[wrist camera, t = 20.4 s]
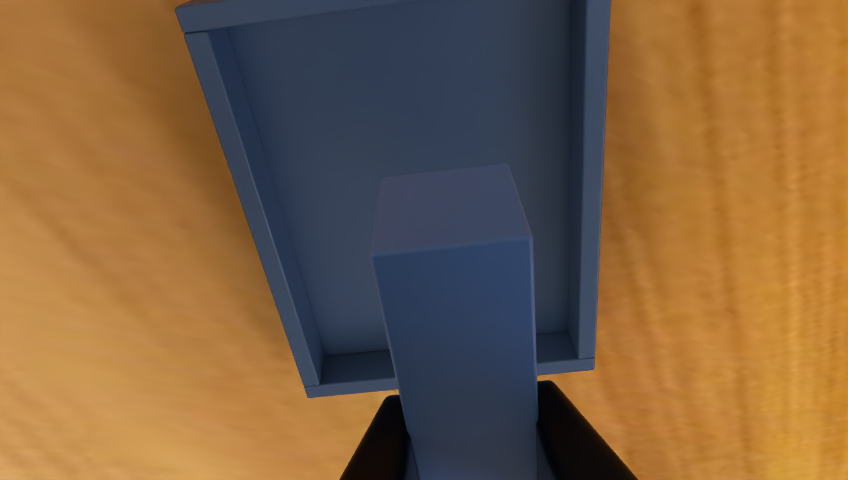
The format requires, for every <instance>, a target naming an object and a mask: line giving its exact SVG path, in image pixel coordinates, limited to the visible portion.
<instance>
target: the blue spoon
mask: <svg viewBox="0 0 848 480" xmlns="http://www.w3.org/2000/svg"><path fill="white" fill-rule="evenodd" d="M370 261H371V265H372V270H373V275H374V279H375V284H376V288H377V293H378V298H379V302H380V307H381V312H382V316H383V321H384V326H385V330H386V335H387V339H388V344H389V349H390V353H391V358H392V363H393V367H394V372H395V376H396V381H397V386H398V390H399V395H400V400H401V404H402V409H403V414H404V418H405V423H406V427H407V431H408V433H409V435H410V437H411V442H412V447H413V452H414V456H415V461H416V466H417V471H418V475H419V480H538V478H537V447H536V422H537V421H538V393H537V360H536V327H535V294H534V261H533V237H532V234H531V231H530V228H529V225H528V222H527V219H526V216H525V213H524V210H523V207H522V204H521V201H520V198H519V195H518V192H517V189H516V186H515V183H514V181H513V178H512V175H511V172H510V169H509V166H508V164H505V163H503V164H494V165H486V166H478V167H470V168H461V169H453V170H445V171H437V172H428V173H420V174H412V175H404V176H395V177H387V178H382V179H381V180H380V185H379V192H378V199H377V206H376V214H375V221H374V228H373V235H372V243H371V250H370Z"/></svg>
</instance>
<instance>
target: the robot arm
mask: <svg viewBox="0 0 848 480" xmlns="http://www.w3.org/2000/svg"><path fill="white" fill-rule="evenodd" d="M537 393H538V421H537V422H536V447H537V478H538V480H638V479H637V478H636V477H635V475H634V474H633V473H632V472H631V471H630V470H629V468H628V467H627V466H626V465H625V464H624V463H623V461H622V460H621V459H620V458H619V457H618V456H617V455H616V453H615V452H614V451H613V450H612V449H611V448H610V446H609V445H608V444H607V443H606V442H605V441H604V440H603V438H602V437H601V436H600V435H599V434H598V433H597V431H596V430H595V429H594V428H593V427H592V426H591V425H590V423H589V422H588V421H587V420H586V419H585V418H584V416H583V415H582V414H581V413H580V412H579V411H578V410H577V408H576V407H575V406H574V405H573V404H572V403H571V401H570V400H569V399H568V398H567V397H566V396H565V394H564V393H563V392H562V391H561V390H560V389H559V388H558V386H557V385H556V384H555V383H554V382H552V381H550V380H546V381H537ZM339 480H419V475H418V471H417V466H416V461H415V456H414V452H413V447H412V442H411V437H410V435H409V433H408V431H407V427H406V423H405V418H404V414H403V409H402V404H401V400H400V395H390V396H388V397H386V398H385V399H384V401H383V403H382V404H381V406H380V408H379V410H378V412H377V413H376V415H375V417H374V419H373V420H372V422H371V424H370V426H369V428H368V429H367V431H366V433H365V435H364V437H363V438H362V440H361V442H360V444H359V445H358V447H357V449H356V451H355V453H354V454H353V456H352V458H351V460H350V461H349V463H348V465H347V467H346V469H345V470H344V472H343V474H342V476H341V478H340V479H339Z"/></svg>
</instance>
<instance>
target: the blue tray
mask: <svg viewBox="0 0 848 480" xmlns="http://www.w3.org/2000/svg"><path fill="white" fill-rule="evenodd" d="M610 7H611V0H191V1H188V2H186V3H184V4H182V5H179V6H177V7H176V8H175V12H176V15H177V18H178V21H179V24H180V26H181V29H182V32H183V33H186V34H184V38H185V41H186V43H187V46H188V49H189V52H190V55H191V58H192V61H193V64H194V67H195V70H196V73H197V76H198V79H199V81H200V84H201V87H202V90H203V93H204V96H205V99H206V102H207V105H208V108H209V111H210V114H211V116H212V119H213V122H214V125H215V128H216V131H217V134H218V137H219V140H220V143H221V146H222V149H223V152H224V154H225V157H226V160H227V163H228V166H229V169H230V172H231V175H232V178H233V181H234V184H235V187H236V189H237V192H238V195H239V198H240V201H241V204H242V207H243V210H244V213H245V216H246V219H247V222H248V225H249V227H250V230H251V233H252V236H253V239H254V242H255V245H256V248H257V251H258V254H259V257H260V260H261V263H262V265H263V268H264V271H265V274H266V277H267V280H268V283H269V286H270V289H271V292H272V295H273V298H274V300H275V303H276V306H277V309H278V312H279V315H280V318H281V321H282V324H283V327H284V330H285V333H286V336H287V338H288V341H289V344H290V347H291V350H292V353H293V356H294V359H295V362H296V365H297V368H298V371H299V373H300V376H301V379H302V382H303V385H304V388H305V391H306V394H307V397H308V398H314V397H324V396H334V395H344V394H355V393H365V392H375V391H385V390H395V389H398V386H397V381H396V376H395V372H394V367H393V363H392V358H391V353H390V349H389V344H388V339H387V335H386V330H385V326H384V321H383V316H382V312H381V307H380V302H379V298H378V293H377V288H376V284H375V279H374V275H373V270H372V265H371V261H370V250H371V243H372V235H373V228H374V221H375V214H376V206H377V199H378V192H379V185H380V180H381V179H382V178H387V177H395V176H404V175H412V174H420V173H428V172H437V171H445V170H453V169H461V168H470V167H478V166H486V165H494V164H503V163H505V164H508V166H509V169H510V172H511V175H512V178H513V181H514V183H515V186H516V189H517V192H518V195H519V198H520V201H521V204H522V207H523V210H524V213H525V216H526V219H527V222H528V225H529V228H530V231H531V234H532V237H533V261H534V294H535V327H536V360H537V375H547V374H557V373H567V372H578V371H588V370H594V368H595V347H596V324H597V302H598V279H599V256H600V234H601V211H602V188H603V166H604V143H605V120H606V98H607V75H608V52H609V30H610Z"/></svg>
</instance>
